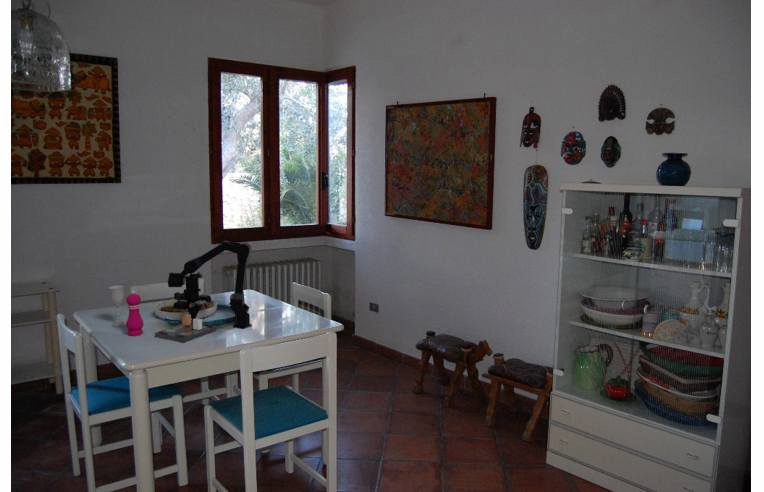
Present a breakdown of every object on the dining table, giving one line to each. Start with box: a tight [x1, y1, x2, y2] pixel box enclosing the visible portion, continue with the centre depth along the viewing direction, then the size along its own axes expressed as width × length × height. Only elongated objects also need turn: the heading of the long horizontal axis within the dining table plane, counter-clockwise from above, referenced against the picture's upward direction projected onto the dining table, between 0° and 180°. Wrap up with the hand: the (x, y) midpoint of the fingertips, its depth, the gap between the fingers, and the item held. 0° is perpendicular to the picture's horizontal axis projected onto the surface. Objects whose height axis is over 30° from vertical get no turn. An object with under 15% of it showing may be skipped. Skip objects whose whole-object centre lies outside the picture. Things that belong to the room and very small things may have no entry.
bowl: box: [153, 299, 218, 320], centre depth 295 cm, size 30×30×8 cm
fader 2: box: [192, 318, 203, 330], centre depth 261 cm, size 3×2×4 cm
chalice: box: [108, 285, 125, 327], centre depth 274 cm, size 7×7×18 cm
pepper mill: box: [125, 290, 144, 337], centre depth 260 cm, size 7×7×20 cm
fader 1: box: [181, 314, 192, 325], centre depth 268 cm, size 3×2×4 cm
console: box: [154, 320, 217, 344], centre depth 262 cm, size 17×20×3 cm
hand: (193, 319), depth 272 cm, fingers closed
